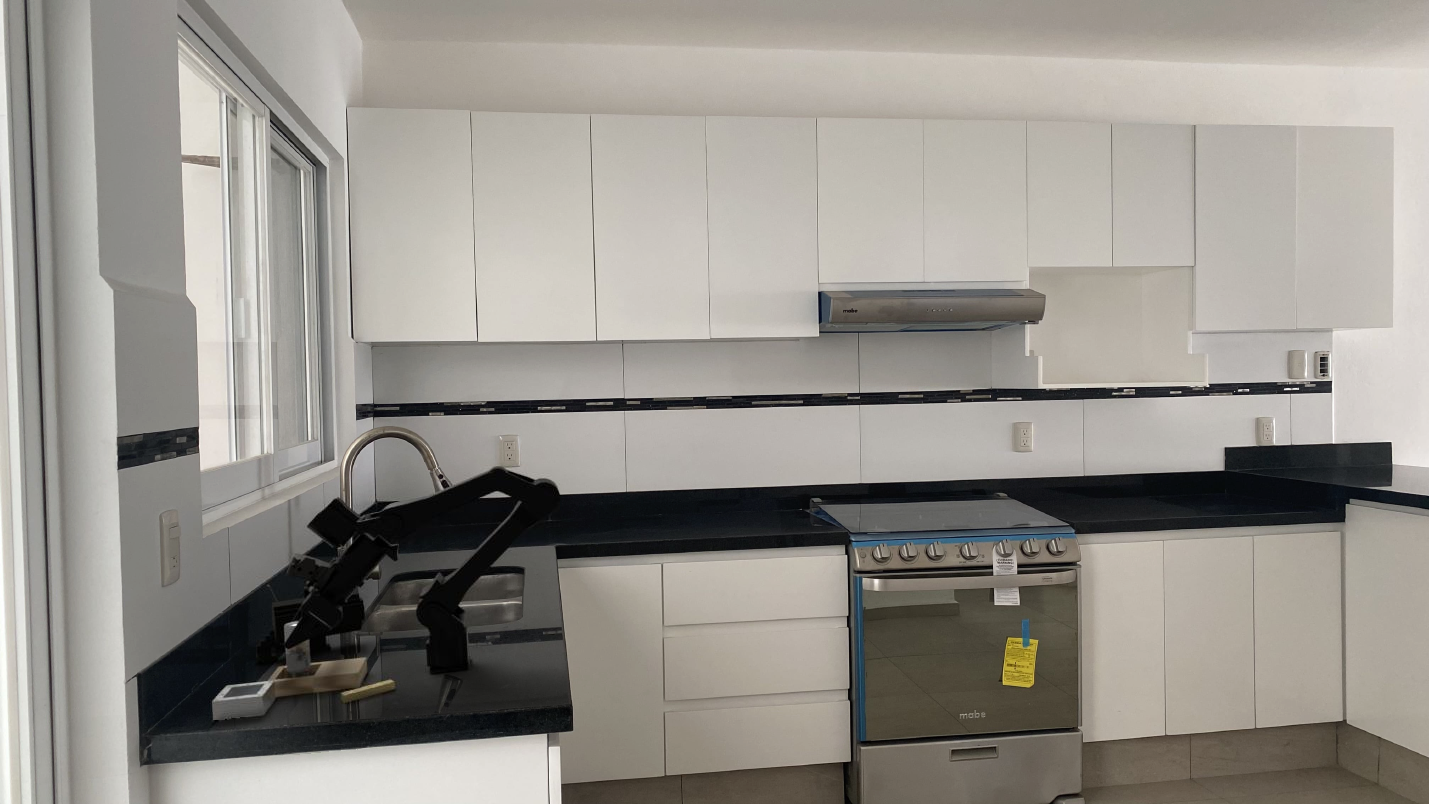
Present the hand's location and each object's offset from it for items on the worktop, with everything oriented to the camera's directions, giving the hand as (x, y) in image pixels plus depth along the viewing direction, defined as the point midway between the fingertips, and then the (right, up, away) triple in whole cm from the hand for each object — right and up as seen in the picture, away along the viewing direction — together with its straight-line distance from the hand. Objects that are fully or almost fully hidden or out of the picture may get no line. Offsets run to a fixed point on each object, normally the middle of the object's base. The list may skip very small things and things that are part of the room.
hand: (287, 639), depth 149 cm
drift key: (+15, -8, -4) cm, 17 cm away
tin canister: (+2, -8, +1) cm, 8 cm away
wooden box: (+5, -8, +1) cm, 9 cm away
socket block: (-2, -9, -9) cm, 12 cm away
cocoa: (-10, -8, +25) cm, 28 cm away
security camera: (-4, -8, +19) cm, 21 cm away
